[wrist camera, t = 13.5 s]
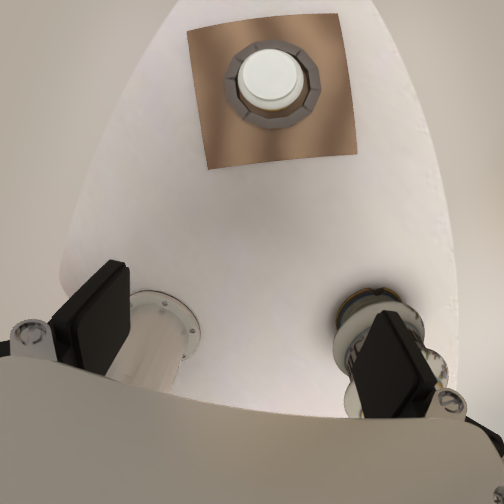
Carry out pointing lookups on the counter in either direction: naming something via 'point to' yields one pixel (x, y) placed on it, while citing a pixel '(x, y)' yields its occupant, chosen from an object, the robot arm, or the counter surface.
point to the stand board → (283, 121)
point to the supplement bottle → (270, 79)
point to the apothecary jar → (356, 330)
